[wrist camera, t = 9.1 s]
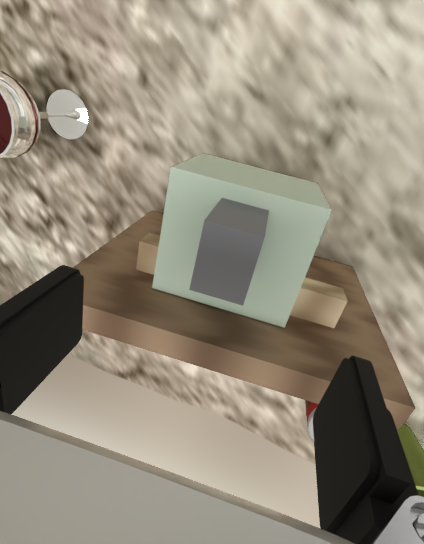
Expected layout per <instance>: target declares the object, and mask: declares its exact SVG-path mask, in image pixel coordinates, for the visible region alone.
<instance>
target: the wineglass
mask: <svg viewBox="0 0 424 544" xmlns="http://www.w3.org/2000/svg"><path fill="white" fill-rule="evenodd" d="M45 118H48V120H49V123H50V124H51V126H52V128H53V129H54V130H55V131H56V133H57V134H59V135H60V136H62V137H63V138H66V139H77V138H79V137H81V136H82V135H83V134H84V132H85V131H86V128H87V125H88V115H87V110H86V107H85V105H84V103H83V101H82V100H81V99H80V98H79V97H78V96H77V95H76V94H75V93H73V92H72V91H69V90H65V89H62V90H57V91H55V92H54V93H52V94H51V96H50V97H49V99H48V102H47V112H39V111H38V108H37V105H36V103H35V101H34V100H33V98H32V96H31V94H30V93H29V92H28V91H27V90H26V88H25V87H24V86H23V85H22V84H21V83H19V82H18V81H17V80H15V79H14V78H12V77H11V76H9V75H8V74H6V73H4V72H2V71H0V158H14V157H18V156H21V155H22V154H24V153H26V152H28V151H29V150H30V149H31V148H32V147H33V145H34V144H35V143H36V141H37V140H38V137H39V133H40V130H41V128H40V119H45Z"/></svg>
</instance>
